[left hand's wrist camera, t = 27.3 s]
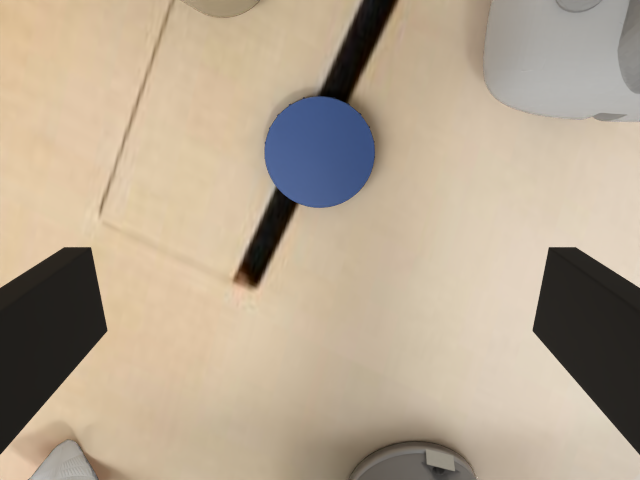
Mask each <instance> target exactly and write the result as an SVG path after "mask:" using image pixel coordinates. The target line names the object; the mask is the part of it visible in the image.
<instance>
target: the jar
mask: <svg viewBox="0 0 640 480" xmlns="http://www.w3.org/2000/svg"><path fill="white" fill-rule="evenodd" d="M181 1H183V2H184V3H186V4H188V5H189V6H191V7H192V8H194V9H196V10H197V11H199V12H201V13H204V14H206V15H209V16H213V17H221V18H226V17H233V16H237V15H240V14H242V13H244V12H246V11H248V10H249V9H251V8H252V7H253V6H254V5H256V4H257V3H258V2H259V0H181Z"/></svg>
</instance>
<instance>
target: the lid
mask: <svg viewBox="0 0 640 480" xmlns="http://www.w3.org/2000/svg"><path fill="white" fill-rule="evenodd" d="M349 105H350V104H348V103H347V104H346V103H345V102H343V101H341V100H338V99H335V97H334V98H332V97H326V96H320V95H318V96H314V97H308V98H305V97H304V98H303V99H301V100H299V101H297V102H295V103H293V104H289V106H288V107H287V108H286V109H284V110H283V111H282V112H281V113H280V114H278V115H277V116H278V117H277V118H276V119H275V121H274V122H273V124H272V126H271V127H270V128H269V129H270V130H269V132H268V135H267V138H266V142H265V161H266V166H267V170H268V173H269V175H270V177H271V179H272V181H273V182H274V184H275V185H276V186H277V188H278V189H279V190H280V191H281V192H282V193H283V194H284V195H285V196H287V197H288V198H289V199H291V200H293V201H294V202H297V203H299V204H301V205H305V206H308V207H315V208H324V207H331V206H335V205H338V204H341V203H343V202H345V201H347V200H348V199H350V198H351V197H353V196H354V195H355V194H356V193H357V192H359V191H360V189H361V188H362V187H363V186H364V184H365V183H366V181H367V180H368V178H369V176H370V174H371V171H372V168H373V164H374V158H375V148H374V140H373V137H372V134H371V131H370V129H369V128H370V127H369V126H368V125H367V123H366V122H365V120H364V118H363V117H362V116H361V114H360V113H358V112H357V111H356V110H355V109H354V108H352V107H351V106H349Z"/></svg>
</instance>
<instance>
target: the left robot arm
mask: <svg viewBox="0 0 640 480" xmlns="http://www.w3.org/2000/svg"><path fill="white" fill-rule="evenodd" d="M106 332H107V326H106V321H105V316H104V311H103V306H102V301H101V295H100V290H99V285H98V280H97V275H96V270H95V265H94V260H93V255H92V250H91V247H64V248H63V249H61V250H59V251H58V252H56V253H55V254H53V255H52V256H50V257H48V258H47V259H45V260H44V261H42V262H40V263H39V264H37V265H36V266H34V267H33V268H31V269H29V270H28V271H26V272H25V273H23V274H22V275H20V276H18V277H17V278H15V279H14V280H12V281H11V282H9V283H7V284H6V285H4V286H3V287H1V288H0V454H1V453H2V452H3V451H4V450H5V449H6V447H7V446H8V445H9V444H10V443H11V442H12V441H13V439H14V438H15V437H16V436H17V435H18V434H19V432H20V431H21V430H22V429H23V428H24V427H25V426H26V424H27V423H28V422H29V421H30V420H31V419H32V417H33V416H34V415H35V414H36V413H37V412H38V410H39V409H40V408H41V407H42V406H43V405H44V404H45V402H46V401H47V400H48V399H49V398H50V397H51V395H52V394H53V393H54V392H55V391H56V390H57V389H58V387H59V386H60V385H61V384H62V383H63V382H64V380H65V379H66V378H67V377H68V376H69V375H70V373H71V372H72V371H73V370H74V369H75V368H76V367H77V365H78V364H79V363H80V362H81V361H82V360H83V358H84V357H85V356H86V355H87V354H88V353H89V352H90V350H91V349H92V348H93V347H94V346H95V345H96V343H97V342H98V341H99V340H100V339H101V338H102V337H103V335H104V334H105V333H106ZM533 332H534V333H535V334H536V335H537V337H538V338H539V339H540V340H541V341H542V342H543V343H544V345H545V346H546V347H547V348H548V349H549V350H550V352H551V353H552V354H553V355H554V356H555V357H556V358H557V360H558V361H559V362H560V363H561V364H562V365H563V367H564V368H565V369H566V370H567V371H568V372H569V373H570V375H571V376H572V377H573V378H574V379H575V380H576V382H577V383H578V384H579V385H580V386H581V387H582V389H583V390H584V391H585V392H586V393H587V394H588V395H589V397H590V398H591V399H592V400H593V401H594V402H595V404H596V405H597V406H598V407H599V408H600V409H601V410H602V412H603V413H604V414H605V415H606V416H607V417H608V419H609V420H610V421H611V422H612V423H613V424H614V426H615V427H616V428H617V429H618V430H619V431H620V432H621V434H622V435H623V436H624V437H625V438H626V439H627V441H628V442H629V443H630V444H631V445H632V446H633V447H634V449H635V450H636V451H637V452H638V453H639V454H640V288H639V287H637V286H636V285H634V284H633V283H631V282H629V281H628V280H626V279H625V278H623V277H622V276H620V275H618V274H617V273H615V272H614V271H612V270H611V269H609V268H607V267H606V266H604V265H603V264H601V263H600V262H598V261H596V260H595V259H593V258H592V257H590V256H588V255H587V254H585V253H584V252H582V251H581V250H579V249H577V248H576V247H549V250H548V255H547V260H546V265H545V270H544V275H543V280H542V285H541V290H540V295H539V301H538V306H537V311H536V316H535V321H534V326H533ZM349 480H476V477H475V475H474V472H473V470H472V468H471V467H470V465H469V464H468V463H467V461H466V460H465V459H464V458H463V457H461V456H460V455H459V454H457V453H456V452H454V451H452V450H451V449H449V448H446V447H444V446H441V445H437V444H433V443H427V442H405V443H399V444H394V445H391V446H388V447H385V448H382V449H380V450H378V451H376V452H374V453H372V454H371V455H369V456H368V457H367V458H365V459H364V460H363V461H362V462H361V463H360V464H359V465H358V466H357V467H356V468H355V470H354V471H353V472H352V474H351V476H350V478H349Z"/></svg>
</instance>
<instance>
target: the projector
mask: <svg viewBox="0 0 640 480" xmlns="http://www.w3.org/2000/svg"><path fill="white" fill-rule="evenodd" d="M483 72H484V79H485V83H486V86H487V88H488V90H489V91H490V93H491V94H492V95H493V96H494V97H495V98H496V99H497V100H498V101H500V102H501V103H503V104H505V105H507V106H509V107H511V108H514V109H516V110H520V111H523V112H526V113H530V114H535V115H540V116H547V117H555V118H564V119H577V120H580V119H586V118H589V117H593V118H595V119H597V120H600V121H612V122H640V0H492V1H491V6H490V11H489V16H488V23H487V29H486V35H485V44H484V55H483Z"/></svg>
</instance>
